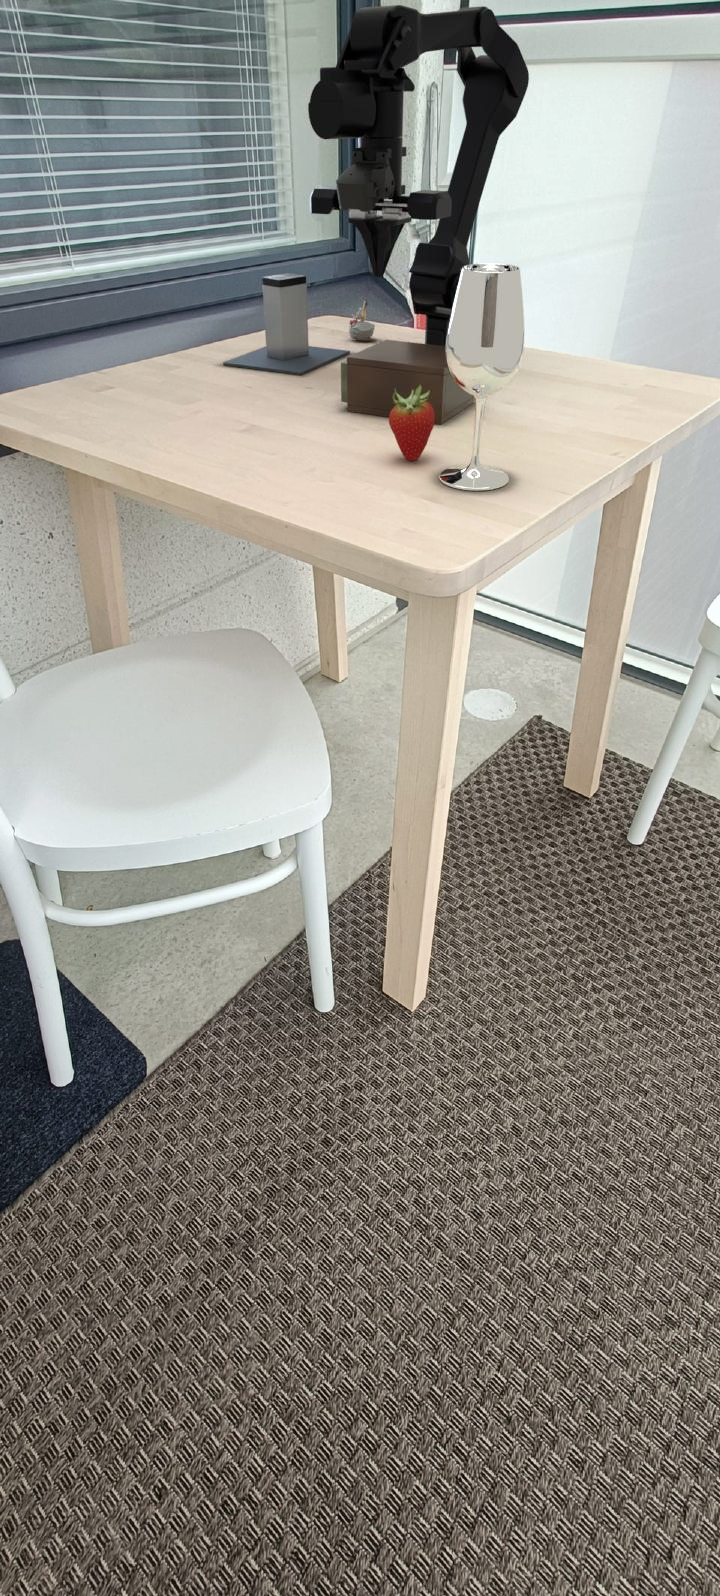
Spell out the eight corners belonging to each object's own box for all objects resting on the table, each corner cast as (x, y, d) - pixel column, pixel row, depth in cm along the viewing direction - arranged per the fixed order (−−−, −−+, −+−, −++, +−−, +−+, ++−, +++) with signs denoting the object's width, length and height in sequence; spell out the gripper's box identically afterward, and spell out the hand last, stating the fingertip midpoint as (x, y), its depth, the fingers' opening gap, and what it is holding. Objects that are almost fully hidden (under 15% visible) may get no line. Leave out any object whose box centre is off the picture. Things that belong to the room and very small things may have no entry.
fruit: (378, 461, 100) (379, 386, 95) (405, 449, 104) (407, 376, 99) (415, 470, 98) (418, 394, 93) (441, 457, 101) (445, 383, 96)
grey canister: (292, 351, 142) (288, 273, 135) (309, 355, 140) (306, 275, 133) (266, 356, 139) (261, 277, 132) (283, 360, 137) (279, 280, 130)
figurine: (376, 342, 148) (376, 302, 145) (350, 343, 148) (350, 303, 144) (372, 336, 153) (372, 297, 149) (347, 336, 152) (346, 297, 148)
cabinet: (347, 411, 116) (346, 357, 112) (385, 390, 124) (385, 339, 120) (441, 424, 111) (444, 368, 107) (474, 402, 119) (478, 349, 115)
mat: (276, 345, 147) (276, 342, 147) (350, 353, 142) (350, 350, 142) (223, 365, 136) (223, 362, 136) (300, 375, 131) (300, 372, 131)
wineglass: (423, 480, 95) (433, 268, 83) (467, 462, 100) (482, 259, 87) (481, 497, 91) (500, 277, 79) (523, 478, 96) (548, 267, 83)
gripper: (285, 138, 110) (291, 281, 120) (421, 141, 103) (415, 291, 113) (328, 135, 118) (330, 269, 127) (456, 138, 111) (449, 279, 121)
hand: (378, 277), depth 122 cm, fingers closed
